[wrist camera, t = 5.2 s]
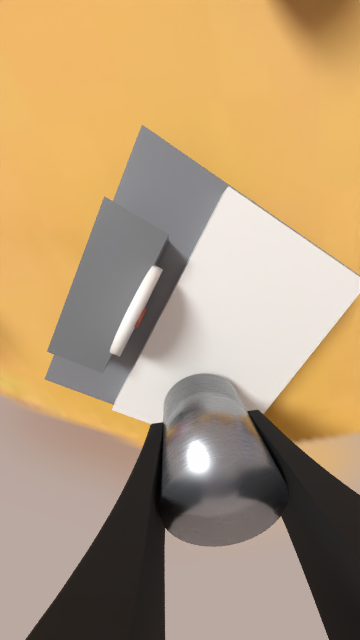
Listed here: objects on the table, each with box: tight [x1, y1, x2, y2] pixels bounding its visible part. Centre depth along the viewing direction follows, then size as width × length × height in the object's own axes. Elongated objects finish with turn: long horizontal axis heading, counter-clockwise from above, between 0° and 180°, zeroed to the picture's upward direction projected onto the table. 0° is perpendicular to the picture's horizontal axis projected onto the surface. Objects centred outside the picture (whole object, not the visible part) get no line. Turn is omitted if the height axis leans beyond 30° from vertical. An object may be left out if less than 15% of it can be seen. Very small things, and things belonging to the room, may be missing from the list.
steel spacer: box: [159, 373, 288, 546], centre depth 9 cm, size 5×5×5 cm
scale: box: [45, 125, 360, 424], centre depth 11 cm, size 16×16×6 cm
